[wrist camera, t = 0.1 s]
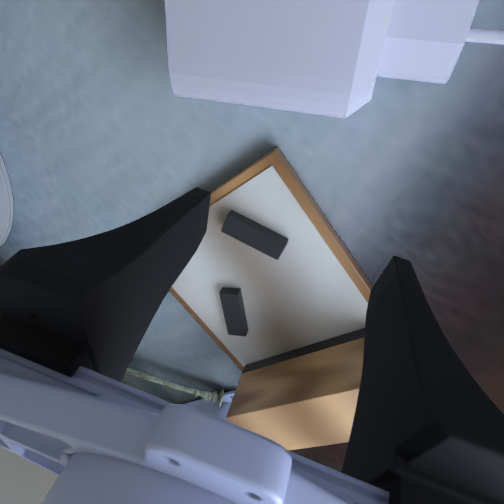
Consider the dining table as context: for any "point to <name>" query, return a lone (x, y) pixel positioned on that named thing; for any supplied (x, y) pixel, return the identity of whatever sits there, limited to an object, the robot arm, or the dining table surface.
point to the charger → (313, 49)
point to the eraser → (302, 393)
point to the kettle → (5, 203)
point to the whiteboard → (273, 268)
